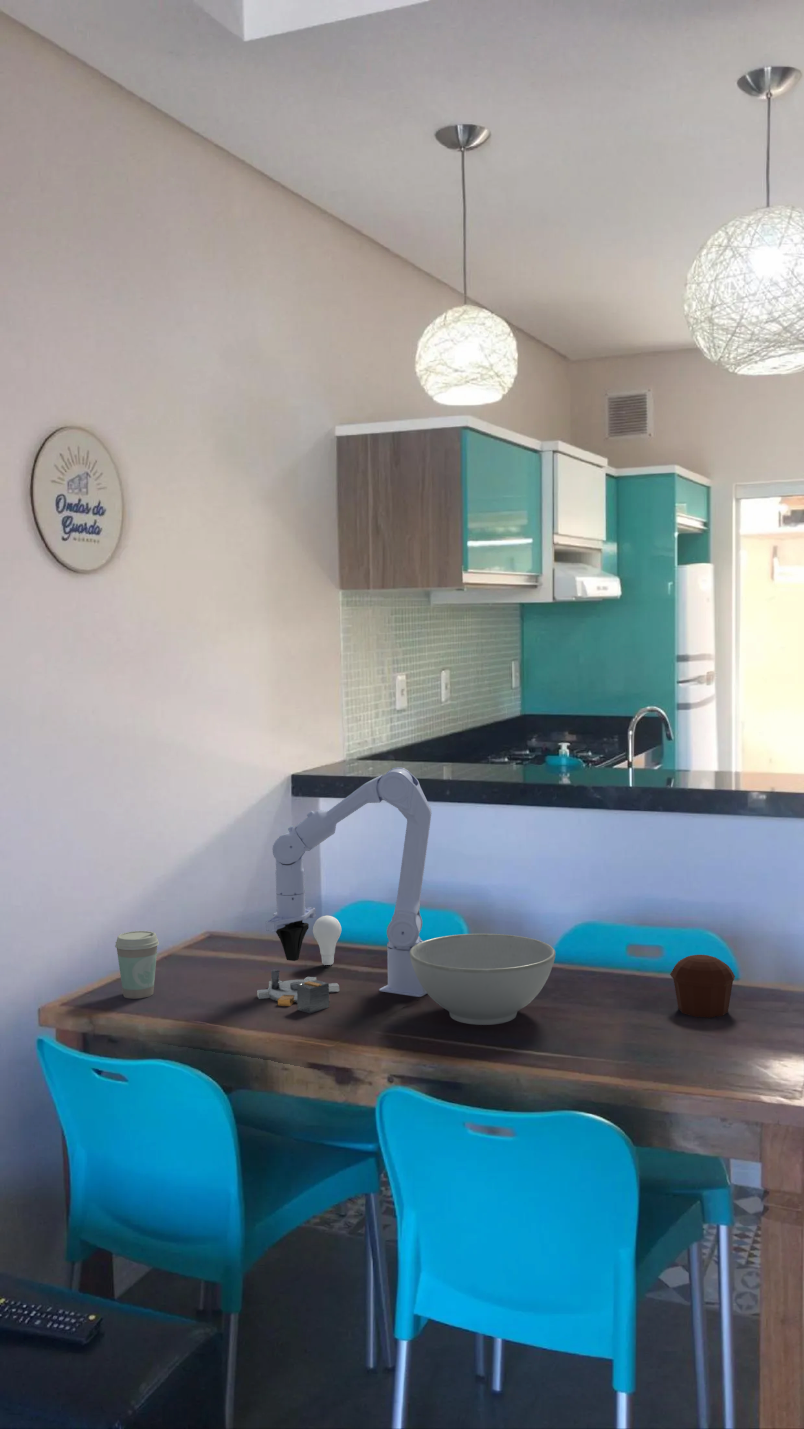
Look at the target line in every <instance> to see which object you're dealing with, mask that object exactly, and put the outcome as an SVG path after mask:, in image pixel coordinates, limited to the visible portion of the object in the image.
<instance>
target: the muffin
mask: <svg viewBox="0 0 804 1429" xmlns="http://www.w3.org/2000/svg"><path fill="white" fill-rule="evenodd" d="M669 975H670V976H671V978H672V979H673V983H674V984H673V985H674V991H675V996H676V1002H677V1008H678V1010H679V1011H680V1012H681V1013H682V1014H684V1015H687V1016H688V1015H689V1016H691V1017H695V1018H696V1017H697V1018H698V1017H699V1016H700V1017H699V1018H711V1019H712V1018H716V1017H715V1016H717V1017H723V1016H724V1015H725V1014H728V1013H729V1010H730V1003H731V995H732V989H733V983H734V980H735V979H736V975H735V974H734V972H733V970H732V968H731V967H730V966H729V965H728V964H727V963H726V962H724V961H722V960H721V959H720V958H718V957H715V956H712V955H708V954H692V955H689V956H686V957H684V958H682V959H680V960H678V961H677V963H676V964H674V967H673V969H672V970H671V972H670V974H669Z"/></svg>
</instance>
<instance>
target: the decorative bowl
mask: <svg viewBox="0 0 804 1429" xmlns="http://www.w3.org/2000/svg"><path fill="white" fill-rule="evenodd" d="M422 941H423V942H421V943H418V944H416V945H415V946H413V947H412V948H411V950H410V959H411V963H412V966H413V968H414V971H415V973H416V976H417V978H418V980H419V982H420V983H421V985H422V987H423V988H424V990H425V991H426V992H427V994H426V995H428V996H429V997H430V998H431V999H432V1000H433V1001H434V1002H435V1003H436V1004H438V1005H439V1006H440V1007H441V1008H443V1009H445V1010H446V1011H448V1013H449V1017H450V1018H451V1019H452V1020H454V1021H457V1022H459V1023H462V1024H466V1025H467V1024H468V1025H474V1026H475V1025H476V1026H479V1025H480V1026H482V1025H483V1026H487V1025H488V1026H490V1025H491V1026H492V1025H499V1024H505V1023H508V1022H511V1021H513V1020H514V1019H515V1018H516V1017H517V1014H518V1011H520V1010H522V1009H524V1008H525V1007H526V1006H528V1005H529V1004H530V1003H531V1002H532V1001H534V999H535V998H536V997H537V996H539V993H540V992H541V991H542V990H543V987H544V986H545V984H547V983H546V982H547V981H548V979H549V977H550V974H551V971H552V969H553V966H554V964H555V963H554V962H555V959H556V950H555V948H554V947H552V945H550V944H548V943H547V942H544V941H541V940H538V939H535V938H531V937H526V936H521V935H514V934H513V935H511V934H501V933H500V934H499V933H463V934H452V935H451V934H450V935H444V936H439V937H434V938H431V939H430V938H429V939H426V940H422Z"/></svg>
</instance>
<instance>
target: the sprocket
mask: <svg viewBox="0 0 804 1429" xmlns="http://www.w3.org/2000/svg"><path fill="white" fill-rule="evenodd" d="M270 976H271V977H270V980H269V981H268V988H267V989H257V990H256V992H257V993H256V994H257V998H258V1000H262V999H263V1000H264V999H271V1000H272V1001H275V1002H277V1006H279V1007H280V1006H282V1007H290V1006H292V1005H293V1004H294V1003H295V1004H298V1002H297V986H298V985H301V984H304V982H308V981H310V982H311V981H315V980H317V976H307V977H305V978H304V979H290V980H283V981H282V980H280V970H279V969H271V970H270ZM338 992H340V985H339V984H338V983H337V982H332V983H329V993H338Z"/></svg>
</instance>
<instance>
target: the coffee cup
mask: <svg viewBox="0 0 804 1429" xmlns="http://www.w3.org/2000/svg"><path fill="white" fill-rule="evenodd" d="M159 944H160V942H159V939H158V936H157V933H156V932H153V931H151V930H150V931H148V930H135V931H133V930H132V931H128V932H122V933H120V934H119V935H117V939H116V941H115V945H114V947H115V948H116V953H117V954H116V955H117V960H118V966H119V973H120V975H119V976H120V980H121V988H122V989H121V990H122V995H123V997H124V998H126V999H131V1000H133V999H134V1000H137V999H145V998H149V997H151V996H152V995H153V994H154V988H155V978H156V967H157V966H156V965H157V954H158V946H159Z"/></svg>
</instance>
